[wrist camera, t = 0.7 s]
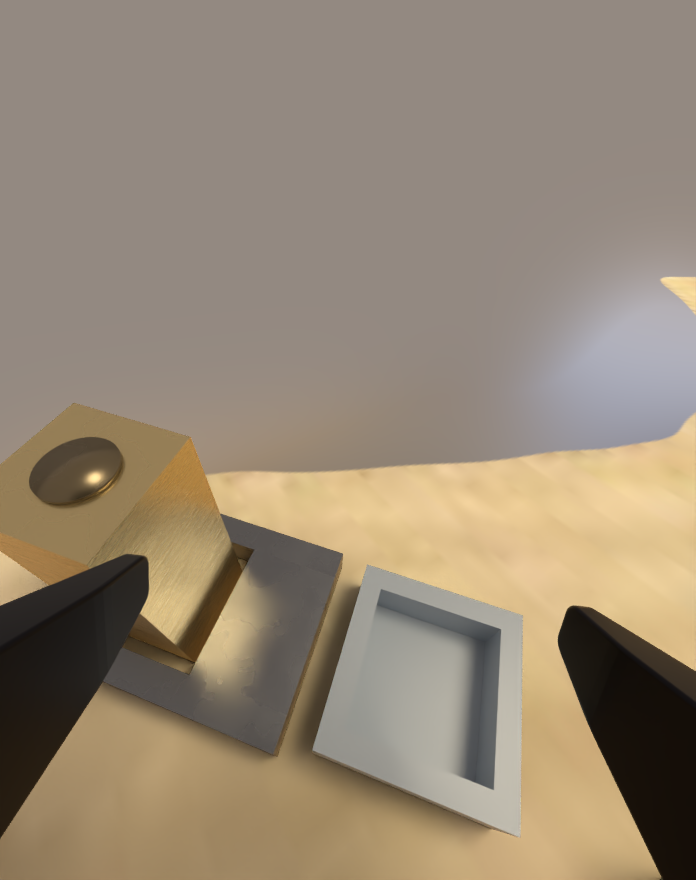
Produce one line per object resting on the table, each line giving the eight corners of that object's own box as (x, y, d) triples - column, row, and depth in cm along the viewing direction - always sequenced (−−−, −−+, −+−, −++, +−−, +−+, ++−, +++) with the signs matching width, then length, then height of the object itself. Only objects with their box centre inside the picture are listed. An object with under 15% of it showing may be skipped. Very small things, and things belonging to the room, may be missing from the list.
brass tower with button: (195, 662, 19) (83, 561, 10) (111, 629, 20) (-61, 508, 11) (242, 571, 23) (189, 433, 13) (168, 545, 23) (71, 398, 14)
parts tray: (492, 829, 16) (520, 837, 14) (313, 753, 17) (312, 749, 15) (501, 632, 21) (522, 615, 19) (362, 585, 22) (367, 564, 20)
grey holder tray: (341, 568, 23) (343, 553, 22) (277, 756, 17) (273, 754, 16) (168, 510, 25) (158, 493, 24) (56, 661, 19) (34, 651, 18)
